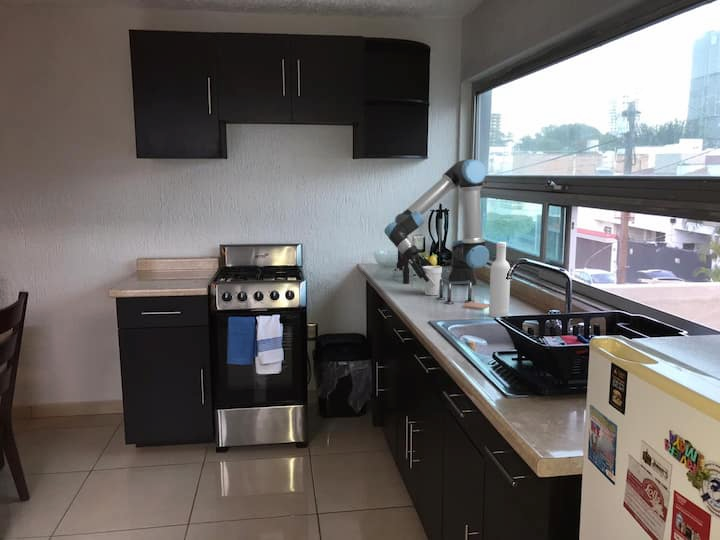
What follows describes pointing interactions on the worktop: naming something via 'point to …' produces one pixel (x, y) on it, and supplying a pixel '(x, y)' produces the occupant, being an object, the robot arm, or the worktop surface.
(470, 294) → the bent rail
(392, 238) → the robot arm
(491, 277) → the bottle
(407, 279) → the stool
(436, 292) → the foam cup
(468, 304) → the coaster
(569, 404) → the worktop surface
